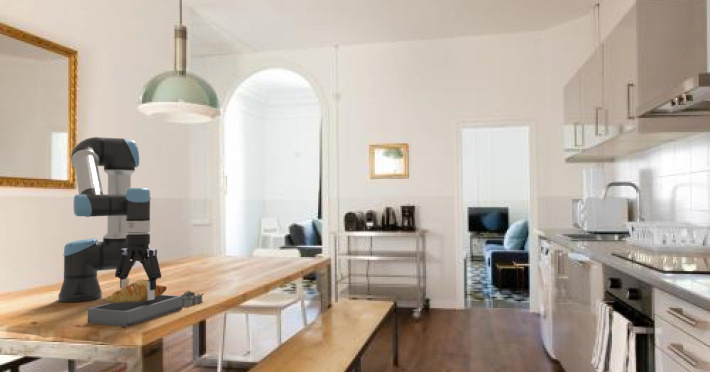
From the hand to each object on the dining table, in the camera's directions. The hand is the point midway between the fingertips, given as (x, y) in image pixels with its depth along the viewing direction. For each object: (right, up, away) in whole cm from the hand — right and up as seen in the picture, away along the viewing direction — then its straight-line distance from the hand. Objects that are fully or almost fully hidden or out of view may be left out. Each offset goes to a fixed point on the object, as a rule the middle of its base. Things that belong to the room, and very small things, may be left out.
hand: (137, 298), depth 167 cm
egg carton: (+11, -7, +20) cm, 23 cm away
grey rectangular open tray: (0, -6, 0) cm, 6 cm away
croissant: (0, -1, 0) cm, 1 cm away
